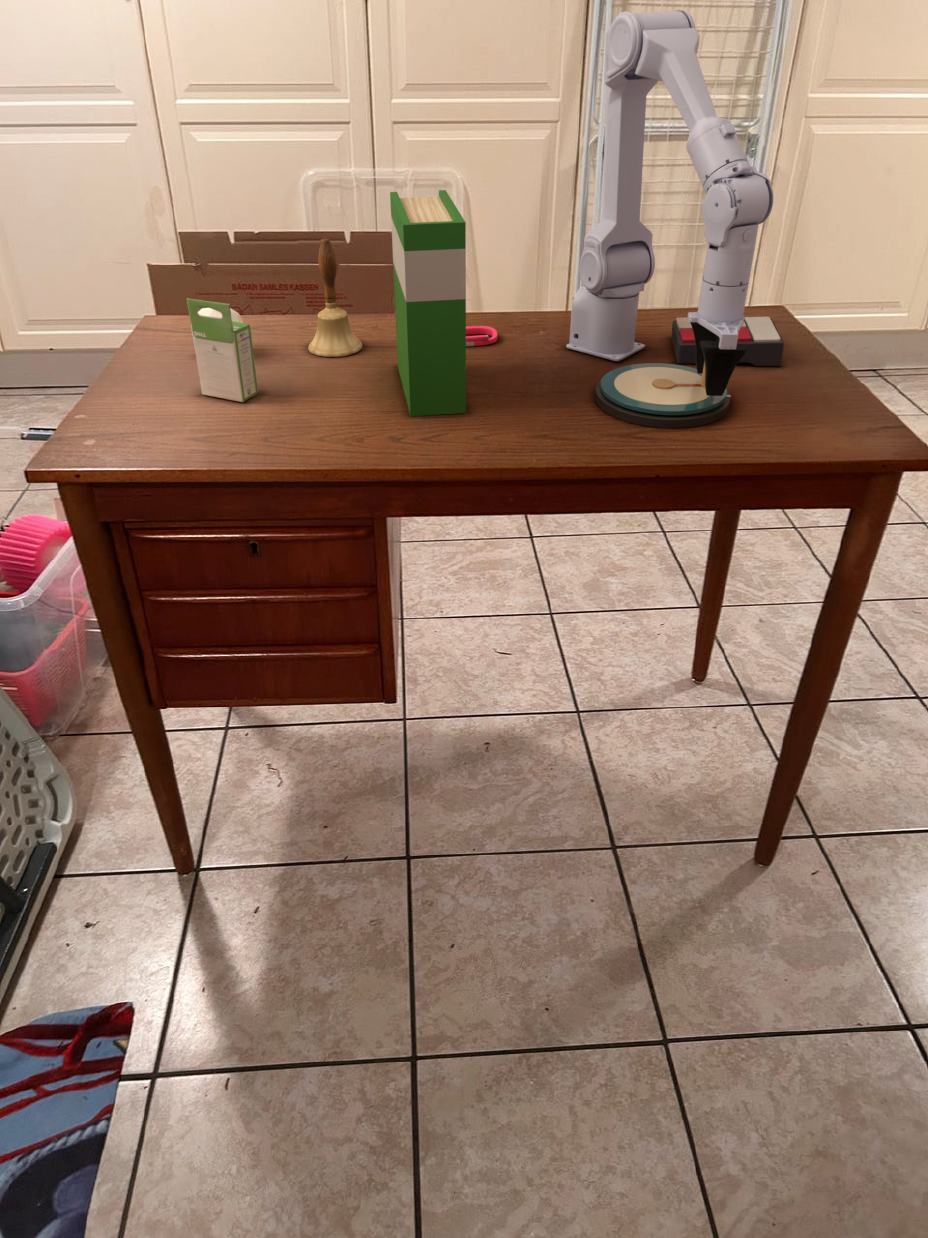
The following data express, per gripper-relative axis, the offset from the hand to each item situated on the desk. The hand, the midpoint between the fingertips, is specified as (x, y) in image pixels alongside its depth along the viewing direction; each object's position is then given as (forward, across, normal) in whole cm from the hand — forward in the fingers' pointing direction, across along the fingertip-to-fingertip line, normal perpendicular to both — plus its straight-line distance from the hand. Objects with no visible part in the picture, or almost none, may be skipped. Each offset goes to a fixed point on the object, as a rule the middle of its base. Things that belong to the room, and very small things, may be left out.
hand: (709, 383), depth 128 cm
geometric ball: (+3, -15, -70) cm, 72 cm away
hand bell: (+3, -19, -54) cm, 57 cm away
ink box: (+3, 0, -65) cm, 65 cm away
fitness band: (+3, -23, -33) cm, 40 cm away
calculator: (+3, -20, +6) cm, 21 cm away
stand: (+3, -1, -6) cm, 7 cm away
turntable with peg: (+1, -1, -6) cm, 6 cm away
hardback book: (+3, -3, -38) cm, 38 cm away
